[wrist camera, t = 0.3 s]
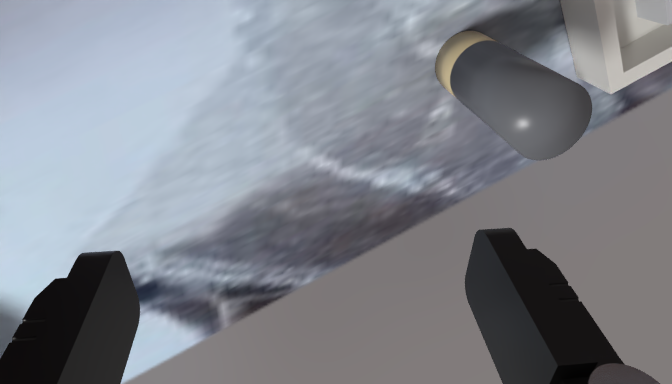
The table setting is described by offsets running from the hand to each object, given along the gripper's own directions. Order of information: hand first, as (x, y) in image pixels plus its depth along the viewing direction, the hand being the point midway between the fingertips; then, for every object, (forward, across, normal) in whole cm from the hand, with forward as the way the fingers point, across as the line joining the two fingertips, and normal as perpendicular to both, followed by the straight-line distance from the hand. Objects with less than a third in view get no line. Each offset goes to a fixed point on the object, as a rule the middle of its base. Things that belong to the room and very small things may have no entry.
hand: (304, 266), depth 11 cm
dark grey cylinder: (+21, -11, +3) cm, 24 cm away
